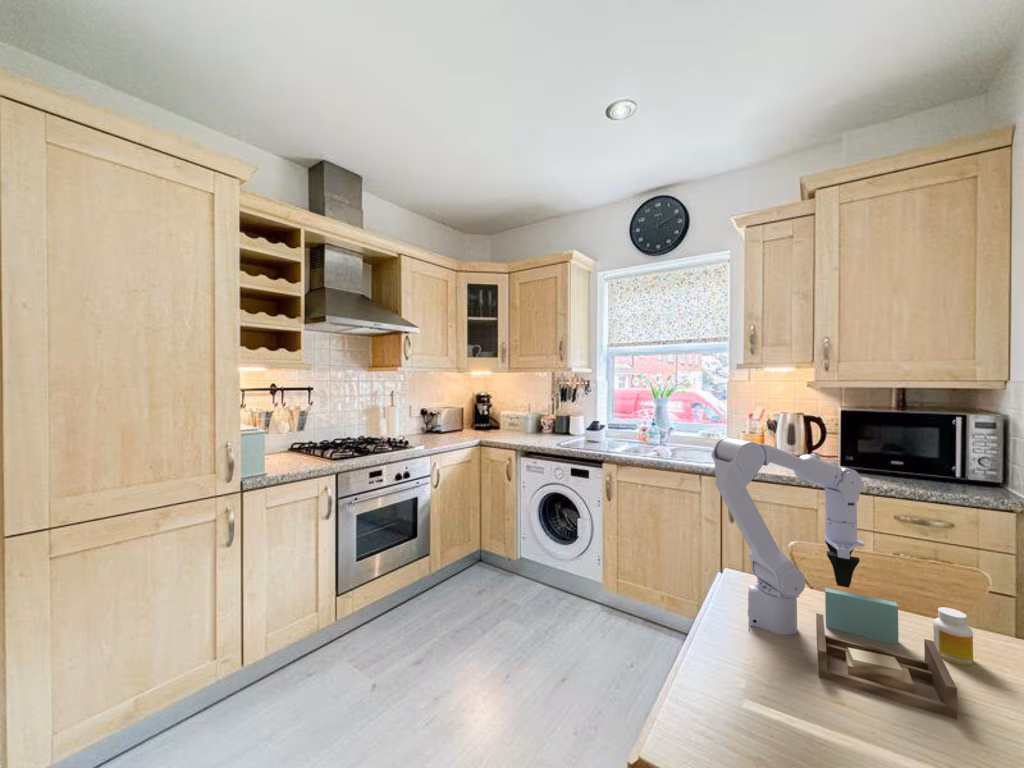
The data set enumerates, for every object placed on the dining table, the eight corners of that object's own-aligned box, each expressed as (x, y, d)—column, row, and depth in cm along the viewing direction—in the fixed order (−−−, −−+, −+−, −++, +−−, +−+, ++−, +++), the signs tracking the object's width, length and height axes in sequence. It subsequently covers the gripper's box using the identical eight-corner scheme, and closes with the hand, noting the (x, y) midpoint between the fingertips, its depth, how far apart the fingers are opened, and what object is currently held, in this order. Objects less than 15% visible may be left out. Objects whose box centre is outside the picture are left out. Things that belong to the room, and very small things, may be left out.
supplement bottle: (981, 672, 80) (981, 621, 80) (948, 669, 81) (947, 618, 81) (958, 654, 86) (957, 606, 86) (926, 651, 87) (926, 604, 87)
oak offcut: (847, 673, 79) (847, 665, 79) (845, 659, 83) (845, 651, 83) (913, 692, 74) (913, 684, 74) (907, 676, 78) (907, 668, 78)
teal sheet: (826, 632, 94) (825, 591, 94) (825, 627, 96) (825, 587, 96) (898, 650, 87) (897, 606, 87) (896, 645, 89) (896, 602, 89)
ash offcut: (853, 667, 78) (853, 659, 78) (847, 655, 82) (847, 647, 82) (902, 678, 75) (902, 670, 75) (894, 665, 79) (894, 657, 79)
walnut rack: (818, 682, 78) (818, 649, 78) (816, 641, 90) (816, 613, 90) (957, 725, 68) (956, 688, 68) (933, 672, 80) (933, 640, 80)
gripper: (867, 532, 88) (868, 597, 88) (859, 514, 100) (860, 571, 100) (825, 526, 92) (826, 588, 92) (822, 509, 104) (823, 564, 104)
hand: (841, 579), depth 96 cm, fingers open, 7 cm apart
